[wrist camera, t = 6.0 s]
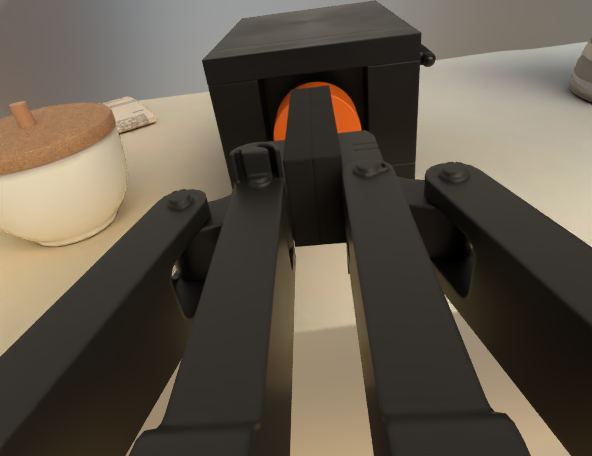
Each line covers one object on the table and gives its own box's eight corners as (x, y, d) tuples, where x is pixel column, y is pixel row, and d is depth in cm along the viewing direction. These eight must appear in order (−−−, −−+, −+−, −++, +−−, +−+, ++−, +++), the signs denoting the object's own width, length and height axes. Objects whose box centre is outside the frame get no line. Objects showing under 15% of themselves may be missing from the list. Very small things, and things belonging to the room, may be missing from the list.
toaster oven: (444, 205, 28) (461, 27, 21) (240, 224, 29) (201, 60, 23) (397, 119, 42) (399, -3, 36) (261, 134, 43) (241, 18, 37)
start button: (363, 172, 24) (360, 87, 21) (280, 181, 25) (266, 98, 22) (358, 156, 26) (355, 76, 23) (282, 164, 27) (270, 86, 24)
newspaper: (126, 105, 59) (120, 88, 57) (159, 132, 51) (154, 113, 50) (-61, 158, 49) (-74, 138, 47) (-55, 201, 41) (-70, 180, 39)
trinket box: (-18, 286, 26) (-118, 151, 21) (17, 210, 35) (-47, 101, 30) (150, 238, 29) (98, 106, 23) (144, 178, 37) (105, 71, 32)
